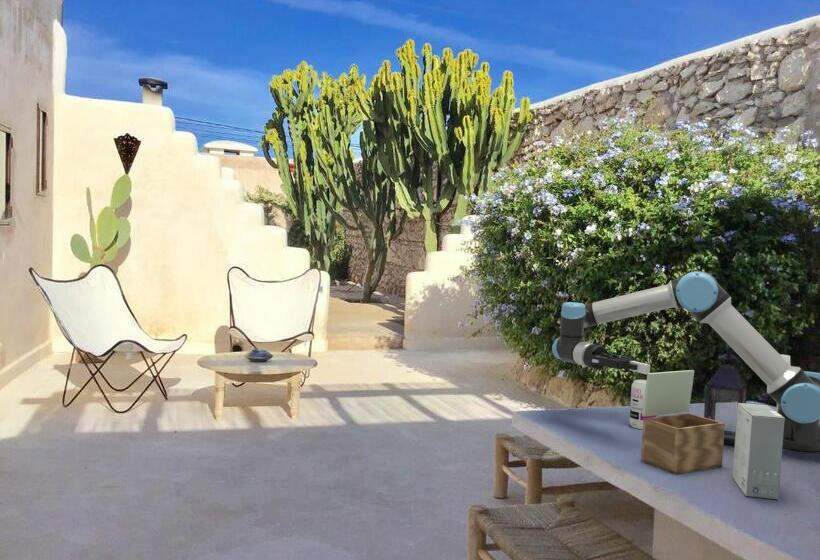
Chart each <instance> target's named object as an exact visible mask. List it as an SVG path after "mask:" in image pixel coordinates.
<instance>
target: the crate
mask: <svg viewBox="0 0 820 560" xmlns="http://www.w3.org/2000/svg"><path fill="white" fill-rule="evenodd" d="M725 426H726V424H725V422H722V421H719V420H715V419H712V418H711V419H710V418H707V417H703V416H700V415H696V414H693V413H688V412H686V413H677V414H671V415H670V414H668V415H663V416H662V415H660V416H656V417H652V418H643V430H642V436H641V439H642V440H641V452H640V454H641V455H640V462H641V463H643V462H644V464H646V465H648V466H651V465H652V467H654V468H657V469H659V468H660V469H659V470H663V471H665V472H668V473H670V474H672V475H675V476H676V475H680V474H681V475H682V474H687V472H688V473H692V471H694V472H699V471H698V470H700V471H705V469H706V470H711V469H710V468H712V469H716V468H715V467H717V468H722V466H723V457H724V456H723V454H724V443H725V442H724V441H725V440H724V439H725Z"/></svg>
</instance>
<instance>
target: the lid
mask: <svg viewBox="0 0 820 560" xmlns="http://www.w3.org/2000/svg"><path fill="white" fill-rule="evenodd" d="M694 376H695V370H694V369H689V370H688V369H687V370H675V371H672V370H671V371H662V372H660V371H659V372H650V373H647V374H646V380H647V381H646V389H645V396H644V404H643V412H642V416H644V417H645V416H654V415H656V416H662V415H663V416H664V415H670V414H671V415H673V414H682V413H688V412H689V411H690V404H691V400H692V399H691V398H692V392H693V391H692V390H693V383H694V378H695V377H694Z"/></svg>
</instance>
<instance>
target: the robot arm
mask: <svg viewBox="0 0 820 560" xmlns="http://www.w3.org/2000/svg"><path fill="white" fill-rule="evenodd" d="M671 308H675V309H677V310H682V309H685V310H687V311H688V312H689V313H690V314H691V315H693V317H694V318H695V319H696V320H697V321H698V322H699V323H701V324H702V323H703V324H708V325H709V326H710V327H711V328H712V329H713V330H714V331H715V332H716V333H717V334H718V335H719V336H720V337H721V339H722V340H723V341H724V342H725V343H726V344H727V345H729V347H730V348H731V350H732V349H733V350H732V351H734V352H735V353H736V354H737V355H738V356H739V357H740V358H741V359H742V360H743V362H744V363H745V364H746V365H748V367H749V368H751V370H752V371H753V372H755V374H756V375H757V376H758V377H759V378H760V380H762V382H764V384H765V385H766V386H767V387H766V393H767V394H768V395H769V396H770V398H772V400H773V401H775V403H776V405H777V404H778V409H777V408H776V411H777V413H779V414H780V415H781V416H783V417H784V418H785V421H784V433H783V446H782V449H783V448H784V449H788V450H792V449H793V450H794V451H799V450H800V452H820V372H813V371H804V370H803V369H802V368H801V367H800V366H793V365H791V364H790V365H789V364H788V363H787V362H786V360H785V359H784V358H783V357H782V356H781V355H780V353H779V352H778V351H777V350H776V349H775V348H774V347H773V346H772V345H771V344H770V343H769V342H768V341H767V340H766V339H765V338H764V337H763V336H762V335H761V334H760V333H759V332H758V331H757V330H756V329H755V327H754V326H753V325H751V323H749V321H748V320H747V319H746V318H745V317H744V316H743V315H742V314H741V313H740V312H739V311H738V310H737V309H736V308H735V307H734V306H733V305H732V297H731V296H730V294H728V292H727V291H726V290H725V289H724V288H723V287H722V286H721V285H720V284H719V283H718V280H717V279H716V278H715V277H714V276H713V274H710V273H709V272H707V271H703V270H697V271H691V272H689V273H686V274H685V275H683V276H682V277H678V278H676V279H671V280H670V281H669V282H668V284H664V285H661V286H660V285H659V286H657V287H656V286H655V287H651V288H647V289H644V290H640V291H635V292H631V293H628V294H624V295H619V296H616V297H615V296H614V297H612V298H607V299H603V300H598V301H594V302H590V303H587V304H584V303H581V302H574V301H569V302H568V301H567V302H563V303H562V304H561V311H560V329H559V330H560V332H559V336H558V337H557V338H556V339H554V340H553V341H554V342H553V343H552V346H551V351H552V354H553V356H554V358H556V359H558V360H561V361H563V362H566V363H571V364H575V365H578V366H582V368H583V369H585V368H587V367H588V368H590V369H592V370H601V369H603V368H605V367H606V368H610V369H614V370H615V369H616V370H619V371H621V370H624V373H629V371H631V372H635V373H638V374H639V373H640V374H643V375H647V373H651V364H648V363H644V362H639V360H638V359H636V358H633V357H629V356H625V355H624V354H620V355H618V354H614V353H613V352H608V350H607V349H606V347H605V346H604V345H599V344H594V343H591V342H587V341H584V330H585V329H586V328H588V327H593V326H597V325H600V324H605V323H610V322H614V321H617V320H623V319H628V318H632V317H637V316H642V315H645V314H649V313H652V312H653V313H654V312H658V311H661V310H666V309H671ZM793 450H792V451H793Z"/></svg>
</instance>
